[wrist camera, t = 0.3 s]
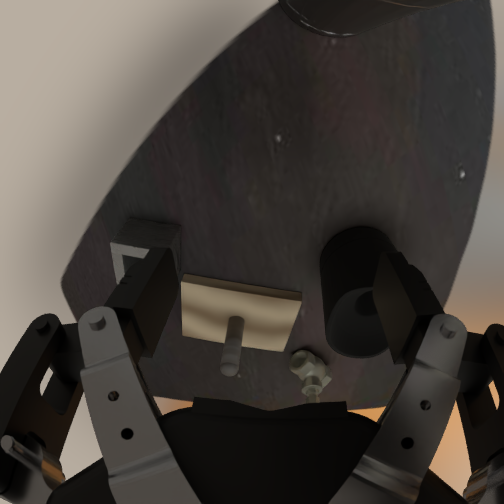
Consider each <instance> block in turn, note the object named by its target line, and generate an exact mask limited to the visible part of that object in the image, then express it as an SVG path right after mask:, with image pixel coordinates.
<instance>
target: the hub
mask: <svg viewBox="0 0 504 504" xmlns="http://www.w3.org/2000/svg"><path fill="white" fill-rule="evenodd" d="M110 245H111V252H112V258H113V264H114V270H115V275H116V281H117V285H118V284H119V282H120V280H121V279H122V277H124V274H125V273H126V272H127V270H128V269H129V267H130V266H132V265H133V264H134V263H136V262H137V261H138V260H143V259H144V257H145V256H146V254H147V253H148V251H149V250H150V249H151V248H171V250H172V252H173V257H174V262H175V267H176V272H177V277H178V274H179V272H180V249H181V226H180V225H173V224H167V223H160V222H154V221H147V220H141V219H134V218H130V219H129V220H128V221H127V222H126V223H125V225H124V226H123V227H122V228H121V230H120V231H119V232H118V233H117V234H116V236H115V237H114V238H113V239H112V241H111V242H110Z"/></svg>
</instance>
